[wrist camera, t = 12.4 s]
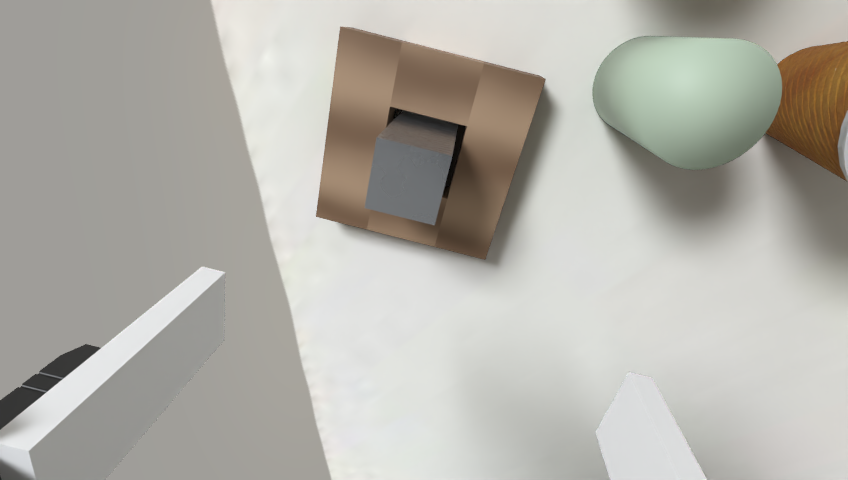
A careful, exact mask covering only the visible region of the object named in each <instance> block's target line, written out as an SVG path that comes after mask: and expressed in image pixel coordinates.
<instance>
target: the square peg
mask: <svg viewBox="0 0 848 480" xmlns="http://www.w3.org/2000/svg"><path fill="white" fill-rule="evenodd" d="M457 128H458V124H455V123H451V122H447V121H443V120H439V119H435V118H431V117H427V116H423V115H419V114H415V113H411V112H407V111H402V112H401V113H400V114H399V115H398V116H397V117H396V118H395V119H394V120H393V121H392V122H391V123H390V124H389V125H388V126H387V127H386V128H385V129H384V130H383V131H382V132H381V133H380V134H379V135H378V136H377V138H376V144H375V149H374V155H373V161H372V167H371V173H370V178H369V184H368V190H367V196H366V202H365V207H364V208H366V209H370V210H374V211H378V212H382V213H386V214H391V215H395V216H399V217H403V218H407V219H411V220H415V221H419V222H423V223H427V224H431V225H435V222H436V218H437V214H438V210H439V207H440V203H441V199H442V195H443V191H444V187H445V183H446V179H447V175H448V171H449V167H450V163H451V160H452V156H453V150H454V145H455V139H456V134H457Z"/></svg>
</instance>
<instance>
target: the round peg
mask: <svg viewBox="0 0 848 480" xmlns="http://www.w3.org/2000/svg"><path fill="white" fill-rule="evenodd" d="M781 96H782V79H781V74H780V70H779V68H778V66H777V63H776V62H775V60H774V59H773V57H772V56H771V55H770V54H769V53H768V52H767V51H766V50H765V49H763V48H762V47H761V46H759V45H757V44H755V43H753V42H750V41H746V40H741V39H730V38H699V37H667V36H643V37H638V38H634V39H631V40H629V41H626V42H625V43H623V44H621V45H620V46H618V47H617V48H615V49H614V50H613V51H612V52H611V53H610V54H609V55H608V56H607V57H606V58H605V60H604V61H603V62H602V64H601V66H600V67H599V69H598V71H597V74H596V76H595V79H594V83H593V102H594V106H595V108H596V111H597V112H598V114H599V116H600V117H601V118H602V119H603V120H604V121H605V122H606V123H607V124H609V125H610V126H612V127H613V128H615V129H616V130H618V131H619V132H621V133H623V134H624V135H626V136H627V137H629V138H630V139H632V140H633V141H635V142H636V143H638V144H639V145H641V146H642V147H644V148H645V149H647V150H649V151H650V152H652V153H653V154H655V155H656V156H658V157H659V158H661V159H662V160H664V161H665V162H667V163H669V164H671V165H673V166H675V167H679V168H682V169H689V170H701V169H709V168H713V167H717V166H720V165H723V164H725V163H728V162H730V161H732V160H734V159H736V158H737V157H739V156H741V155H742V154H744V153H745V152H746V151H748V150H749V149H750V148H751V147H753V146H754V145H755V144H756V143H757V142H758V141H759V140H760V139H761V138H762V136H763V135H764V134H765V133H766V131H767V130H768V128H769V127H770V125H771V124H772V122H773V120H774V118H775V116H776V114H777V111H778V108H779V105H780V101H781Z"/></svg>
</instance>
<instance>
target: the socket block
mask: <svg viewBox="0 0 848 480" xmlns="http://www.w3.org/2000/svg"><path fill="white" fill-rule="evenodd" d="M544 82H545V79H544V78H543V77H541V76H539V75H535V74H531V73H527V72H523V71H519V70H515V69H511V68H507V67H503V66H499V65H496V64H492V63H488V62H484V61H480V60H476V59H472V58H468V57H464V56H460V55H457V54H453V53H449V52H445V51H441V50H437V49H433V48H429V47H425V46H421V45H418V44H414V43H410V42H406V41H402V40H398V39H394V38H390V37H386V36H382V35H379V34H375V33H371V32H367V31H363V30H359V29H355V28H350V27H340V33H339V41H338V49H337V57H336V65H335V72H334V80H333V88H332V96H331V104H330V112H329V119H328V127H327V135H326V143H325V151H324V158H323V166H322V174H321V182H320V190H319V198H318V205H317V213H316V217H320V218H323V219H327V220H331V221H335V222H339V223H343V224H347V225H351V226H355V227H359V228H363V229H367V230H371V231H375V232H378V233H382V234H386V235H390V236H394V237H398V238H402V239H406V240H410V241H414V242H418V243H422V244H426V245H430V246H433V247H437V248H441V249H445V250H449V251H453V252H457V253H461V254H465V255H469V256H473V257H477V258H481V259H486V256H487V253H488V250H489V247H490V244H491V241H492V238H493V235H494V232H495V229H496V226H497V223H498V220H499V217H500V214H501V211H502V208H503V205H504V202H505V199H506V196H507V193H508V190H509V187H510V184H511V181H512V178H513V175H514V172H515V169H516V166H517V163H518V160H519V157H520V154H521V151H522V148H523V145H524V142H525V139H526V136H527V133H528V130H529V127H530V124H531V121H532V118H533V115H534V112H535V109H536V106H537V103H538V100H539V97H540V94H541V91H542V88H543V85H544ZM395 108H398V109H402V110H406V111H410V112H414V113H417V114H421V115H425V116H429V117H433V118H437V119H441V120H445V121H449V122H453V123H457V124H460V125H464V126H466V127H465V131H464V134H463V138H462V142H461V146H460V149H459V153H458V157H457V160H456V164H455V168H454V172H453V175H452V179H451V183H450V186H445V187H444V191H443V195H442V199H441V203H440V207H439V210H438V214H437V218H436V222H435V225H431V224H427V223H423V222H419V221H415V220H411V219H407V218H403V217H399V216H395V215H391V214H386V213H382V212H378V211H374V210H370V209H366V208H364V207H365V202H366V196H367V190H368V184H369V178H370V173H371V167H372V161H373V155H374V149H375V144H376V138H377V136H378V135H379V134H380V133H381V132H382V131H383V130H384V129H385V128H386V127H387V126H388V125H389V124H390V123H391V122H392V121H393V118H394V113H395Z"/></svg>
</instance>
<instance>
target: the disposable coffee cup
mask: <svg viewBox="0 0 848 480" xmlns="http://www.w3.org/2000/svg"><path fill="white" fill-rule="evenodd" d="M777 66H778V68H779V70H780V74H781V79H782V96H781V101H780V105H779V108H778V111H777V114H776V116H775V118H774V120H773V122H772V124H771V125H770V127H769V128H768V130H767V131H766V134H768V135H770V136H771V137H773V138H775V139H777V140H778V141H780V142H782V143H783V144H785V145H787V146H788V147H790V148H792V149H794V150H795V151H797V152H798V153H800V154H802V155H804V156H805V157H807V158H809V159H810V160H812V161H814V162H815V163H817V164H819V165H820V166H822V167H824V168H826V169H827V170H829V171H831V172H832V173H834V174H836V175H837V176H839V177H841V178H842V179H844V180H846V181H848V41H847V42H841V43H834V44H827V45H822V46H813V47H809V48H805V49H802V50H800V51H798V52H796V53H794V54H791V55H789V56H788V57H786V58H785V59H783V60H782V61H781V62H780V63H778V64H777Z"/></svg>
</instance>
